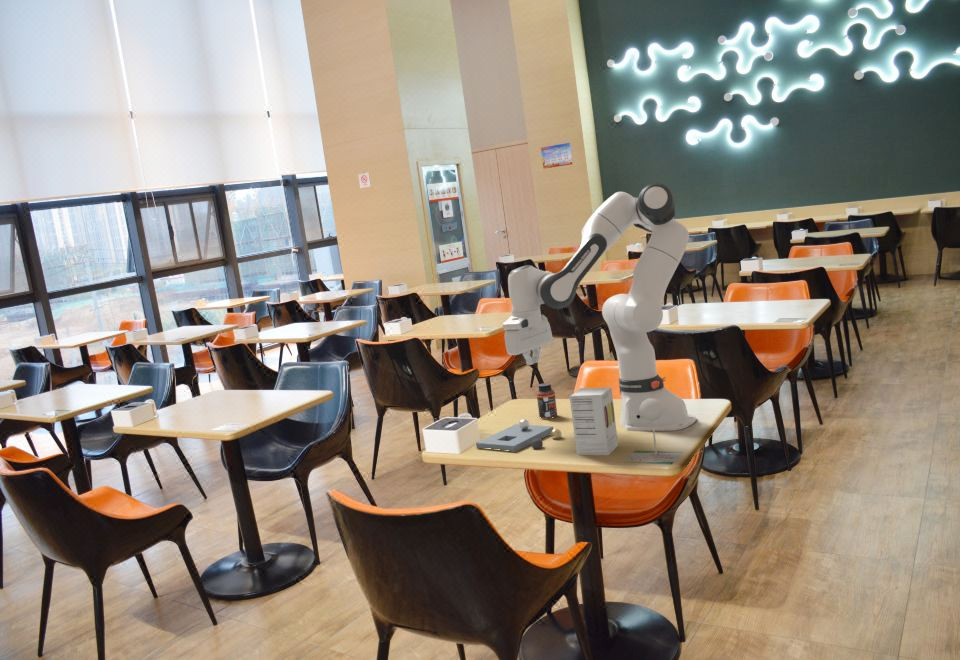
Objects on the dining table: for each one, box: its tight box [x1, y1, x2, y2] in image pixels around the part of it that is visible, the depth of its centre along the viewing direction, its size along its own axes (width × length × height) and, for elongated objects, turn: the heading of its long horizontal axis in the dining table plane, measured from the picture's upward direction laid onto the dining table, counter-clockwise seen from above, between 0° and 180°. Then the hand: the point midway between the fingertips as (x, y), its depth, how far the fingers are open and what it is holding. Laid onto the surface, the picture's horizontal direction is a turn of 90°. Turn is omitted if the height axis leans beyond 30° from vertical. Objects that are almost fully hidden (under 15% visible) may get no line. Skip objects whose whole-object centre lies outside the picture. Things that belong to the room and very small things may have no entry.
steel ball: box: [518, 419, 530, 430], centre depth 240 cm, size 3×3×3 cm
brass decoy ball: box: [550, 428, 563, 440], centre depth 234 cm, size 3×3×3 cm
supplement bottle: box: [536, 382, 558, 419], centre depth 260 cm, size 6×6×11 cm
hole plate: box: [475, 423, 554, 452], centre depth 237 cm, size 20×14×2 cm
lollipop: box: [639, 398, 663, 455], centre depth 207 cm, size 6×6×15 cm
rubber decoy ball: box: [531, 439, 544, 450], centre depth 227 cm, size 3×3×3 cm
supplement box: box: [569, 386, 619, 456], centre depth 217 cm, size 10×9×17 cm
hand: (532, 363), depth 245 cm, fingers closed
